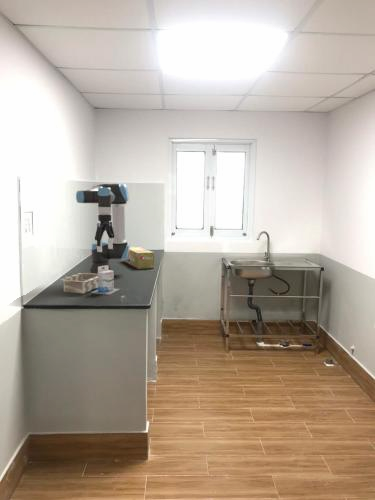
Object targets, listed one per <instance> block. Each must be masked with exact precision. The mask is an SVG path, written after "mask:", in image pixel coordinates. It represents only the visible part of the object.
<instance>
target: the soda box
mask: <svg viewBox="0 0 375 500" xmlns="http://www.w3.org/2000/svg"><path fill="white" fill-rule="evenodd" d="M124 262H125V263H127V264H128V265H130V266H132V267H133V268H135V269H137V270H140V269H141V270H143V269H154V268H155V252H154V251H151V250H148V249H146V248H143V247H140V246H130V248H129V255H128V258H127V259H126V260H124Z"/></svg>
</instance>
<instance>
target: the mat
mask: <svg viewBox="0 0 375 500" xmlns="http://www.w3.org/2000/svg"><path fill="white" fill-rule="evenodd" d="M120 290H121V289H120V288H114V290H111V291H106V292H100V291H98V289H94V291H93V290H92V291H90V294H95V295H96V294H97V295H104V296H105V295H106V296H110V295H112V294H115V293H116V292H118V291H120Z"/></svg>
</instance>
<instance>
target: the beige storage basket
mask: <svg viewBox="0 0 375 500" xmlns="http://www.w3.org/2000/svg"><path fill="white" fill-rule="evenodd" d="M59 281H62V282H63V292H65V293H73V294H82V295H83V294H86V293H88V292H92V291H93V290H96V289H98V274H94V273H90V272H83V273H81V272H78V273H75V274H73V275H72V274H71V275H69V276H66V277H64V278H63V277H62V278H60V279H59Z"/></svg>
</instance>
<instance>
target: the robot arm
mask: <svg viewBox="0 0 375 500" xmlns="http://www.w3.org/2000/svg"><path fill="white" fill-rule="evenodd" d="M129 196H130V195H129V189H128V187H127V184H124V183H102V184H101V183H99V184H97V185H93V186H92V187H91V188H89V189H86V190H83V189H82V190H77V191H76V193H75V199H76V203H79V204H97V212H98V216H97V220H98V221H99V222H97V224H96V225H97V226H96V232H95V236H94V241H96V242H93V243H92V244H91V266H90V268H89V269H90V270H89V273H94V274H98V267H99V266H105V265H108V266H109V270H111V267H110V264H109V263H110V262H109V261H110V260H112V261H113V260H114V261H115V260H117V261H119V260H120V261H123V260H124V261H125V260H126V259H127V258H128V255H129V248H130V247H131V246H130V243H128V240H127V239H126V221H125V220H126V219H125V218H126V216H125V213H126V212H125V206H126V204H127V203H128V202H129V199H130V198H129ZM105 231H106V233H107V236H108V238H107V240H106V241H105V240H104V241H103V240H102V239H103V237H104V233H105ZM102 269H105V268H104V267H103V268H102Z"/></svg>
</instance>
